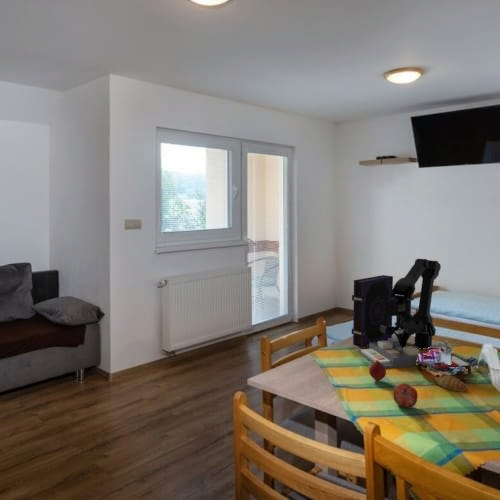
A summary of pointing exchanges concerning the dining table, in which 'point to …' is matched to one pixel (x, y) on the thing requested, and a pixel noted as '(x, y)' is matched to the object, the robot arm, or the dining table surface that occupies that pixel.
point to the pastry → (451, 383)
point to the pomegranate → (405, 395)
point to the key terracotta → (392, 351)
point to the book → (371, 309)
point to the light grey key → (384, 344)
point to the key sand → (411, 350)
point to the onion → (377, 371)
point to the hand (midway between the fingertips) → (402, 348)
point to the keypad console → (388, 356)
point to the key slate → (394, 341)
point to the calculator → (454, 365)
